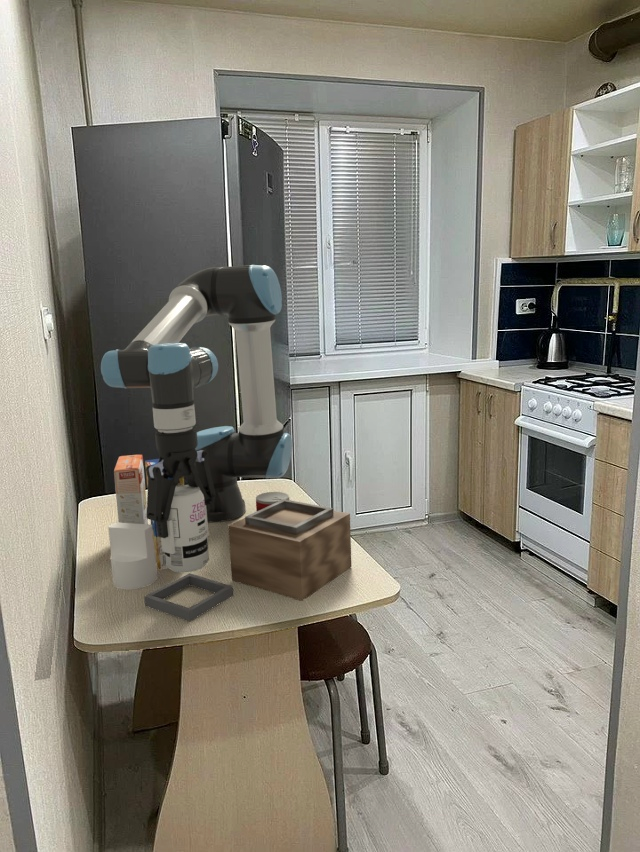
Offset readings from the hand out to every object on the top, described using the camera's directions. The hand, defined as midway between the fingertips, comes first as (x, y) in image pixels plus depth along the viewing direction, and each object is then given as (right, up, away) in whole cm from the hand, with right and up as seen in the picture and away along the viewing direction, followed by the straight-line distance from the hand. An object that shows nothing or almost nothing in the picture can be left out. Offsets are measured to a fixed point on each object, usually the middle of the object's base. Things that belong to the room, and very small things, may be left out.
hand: (186, 543), depth 125 cm
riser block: (+20, -8, +12) cm, 25 cm away
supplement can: (0, -4, +1) cm, 5 cm away
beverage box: (-8, -8, +23) cm, 26 cm away
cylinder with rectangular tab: (-13, -10, +12) cm, 21 cm away
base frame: (0, -11, +2) cm, 12 cm away
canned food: (+15, -5, +31) cm, 35 cm away
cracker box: (-18, -6, +31) cm, 37 cm away
